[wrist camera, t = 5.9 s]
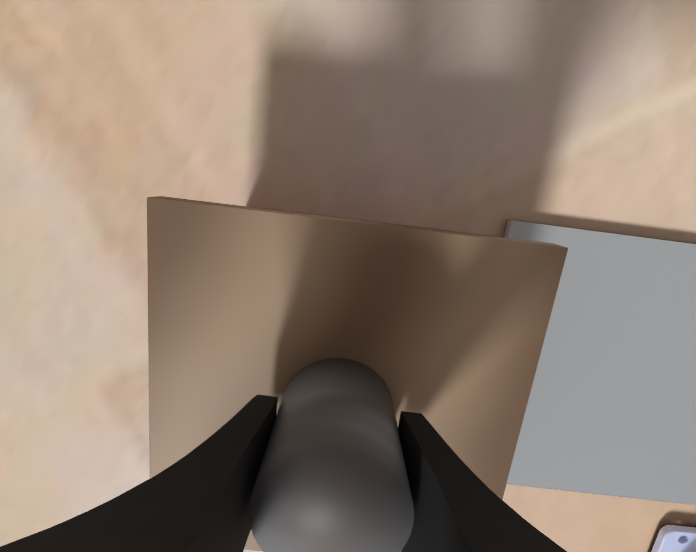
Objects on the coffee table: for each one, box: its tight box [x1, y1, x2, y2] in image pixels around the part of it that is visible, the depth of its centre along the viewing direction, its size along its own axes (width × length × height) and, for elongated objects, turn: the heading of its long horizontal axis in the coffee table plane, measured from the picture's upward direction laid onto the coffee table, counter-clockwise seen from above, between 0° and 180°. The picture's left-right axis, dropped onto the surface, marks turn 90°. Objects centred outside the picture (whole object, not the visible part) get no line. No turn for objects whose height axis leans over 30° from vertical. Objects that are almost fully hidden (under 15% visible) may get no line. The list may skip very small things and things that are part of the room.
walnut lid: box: [147, 196, 568, 552], centre depth 10 cm, size 12×12×5 cm
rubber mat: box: [504, 220, 696, 505], centre depth 18 cm, size 13×13×1 cm
